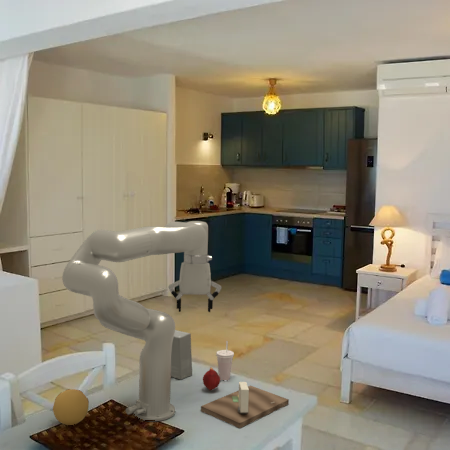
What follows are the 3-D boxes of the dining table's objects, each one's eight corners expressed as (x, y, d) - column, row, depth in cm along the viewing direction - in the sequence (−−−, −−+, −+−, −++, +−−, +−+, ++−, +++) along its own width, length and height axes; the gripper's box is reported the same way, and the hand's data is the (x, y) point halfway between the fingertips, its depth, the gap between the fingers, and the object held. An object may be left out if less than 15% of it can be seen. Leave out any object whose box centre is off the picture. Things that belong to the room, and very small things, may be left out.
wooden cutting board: (239, 428, 159) (240, 422, 159) (200, 411, 170) (200, 405, 169) (288, 404, 177) (288, 398, 176) (250, 390, 187) (250, 384, 187)
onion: (222, 389, 187) (223, 367, 186) (213, 395, 182) (214, 371, 181) (208, 385, 190) (209, 363, 189) (199, 391, 185) (199, 368, 184)
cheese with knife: (249, 416, 163) (250, 389, 162) (238, 416, 163) (239, 389, 162) (243, 396, 177) (244, 372, 176) (233, 397, 177) (234, 372, 176)
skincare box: (192, 375, 199) (193, 333, 197) (179, 381, 193) (180, 337, 192) (175, 369, 204) (176, 328, 203) (161, 375, 198) (162, 332, 197)
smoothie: (231, 383, 193) (232, 344, 192) (213, 381, 194) (214, 342, 193) (234, 376, 199) (235, 339, 198) (217, 374, 200) (218, 337, 199)
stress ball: (81, 434, 154) (101, 403, 160) (59, 415, 150) (80, 383, 155) (61, 428, 161) (81, 399, 167) (39, 410, 156) (60, 380, 162)
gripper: (221, 258, 182) (220, 308, 184) (169, 257, 181) (168, 307, 182) (223, 261, 175) (221, 314, 176) (168, 260, 173) (167, 313, 175)
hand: (194, 311), depth 179 cm, fingers open, 9 cm apart
